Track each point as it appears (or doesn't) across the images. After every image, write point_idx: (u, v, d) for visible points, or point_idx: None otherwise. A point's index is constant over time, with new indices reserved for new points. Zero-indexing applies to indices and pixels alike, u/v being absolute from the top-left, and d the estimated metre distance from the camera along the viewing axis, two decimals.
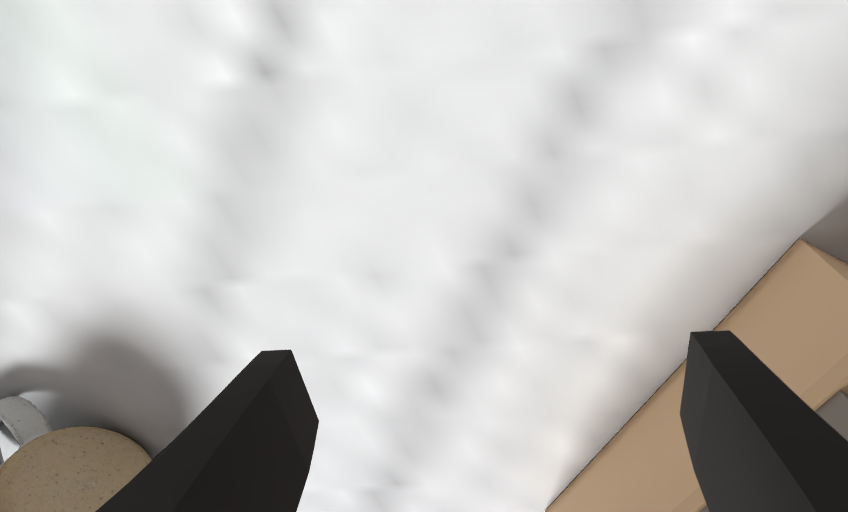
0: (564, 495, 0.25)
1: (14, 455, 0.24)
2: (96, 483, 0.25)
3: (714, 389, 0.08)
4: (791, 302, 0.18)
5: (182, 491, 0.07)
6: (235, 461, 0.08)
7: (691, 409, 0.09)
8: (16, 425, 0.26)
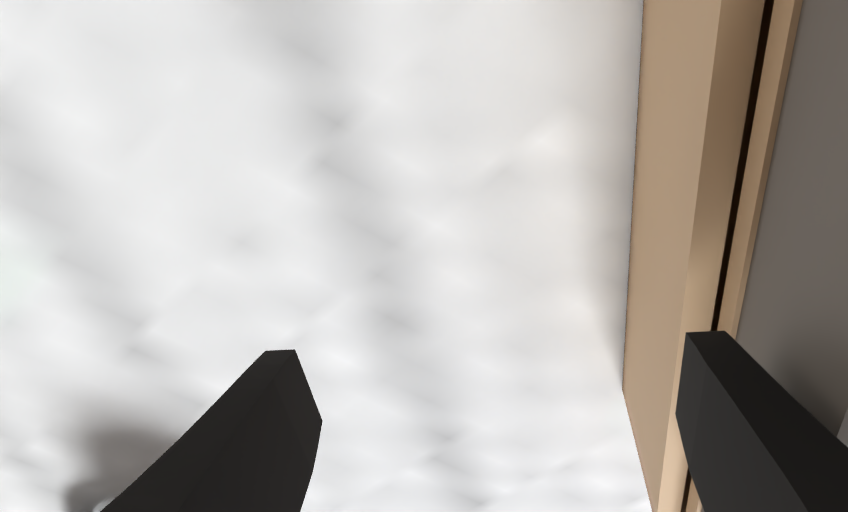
0: (625, 362, 0.19)
1: None
2: None
3: (709, 389, 0.08)
4: None
5: (187, 491, 0.07)
6: (240, 461, 0.08)
7: (686, 409, 0.09)
8: None
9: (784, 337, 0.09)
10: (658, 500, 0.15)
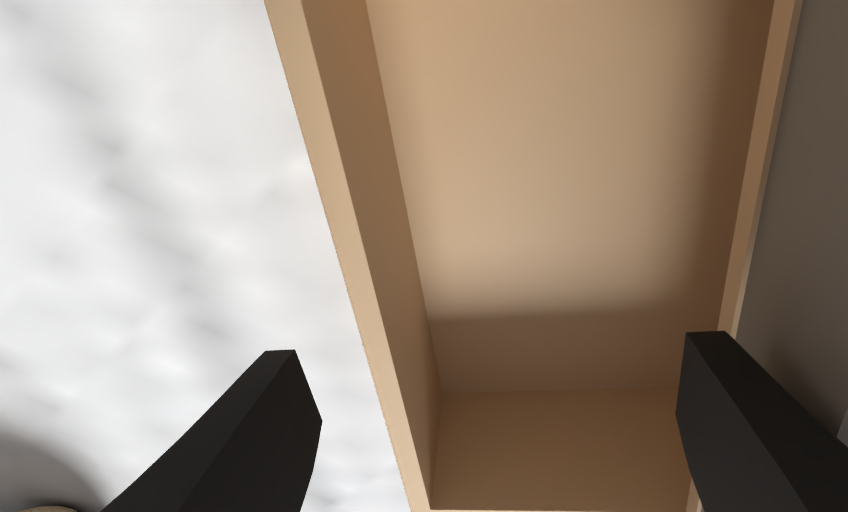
0: None
1: None
2: None
3: (708, 389, 0.08)
4: None
5: (187, 491, 0.07)
6: (240, 461, 0.08)
7: (686, 409, 0.09)
8: None
9: (783, 337, 0.09)
10: (408, 498, 0.16)
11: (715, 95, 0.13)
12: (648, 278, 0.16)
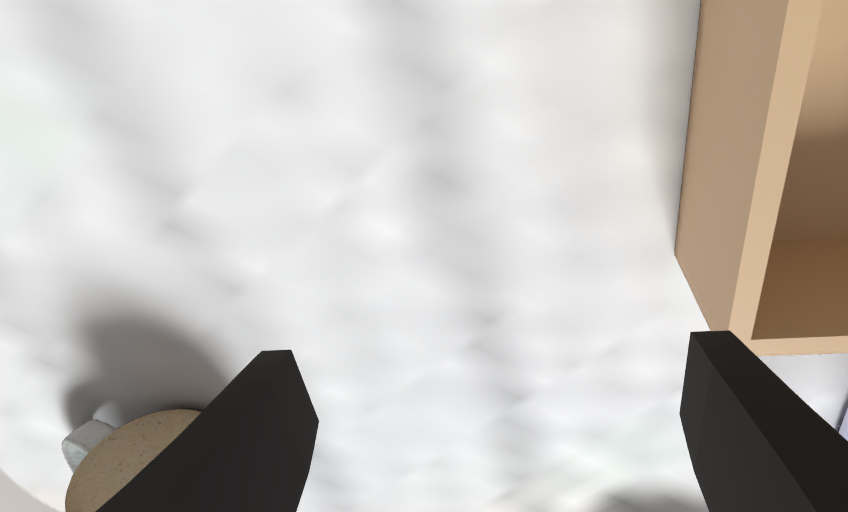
0: (680, 218, 0.18)
1: (79, 464, 0.24)
2: None
3: (714, 389, 0.08)
4: None
5: (182, 491, 0.07)
6: (235, 461, 0.08)
7: (691, 409, 0.09)
8: (84, 442, 0.26)
9: None
10: (728, 325, 0.14)
11: None
12: None
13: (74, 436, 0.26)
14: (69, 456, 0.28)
